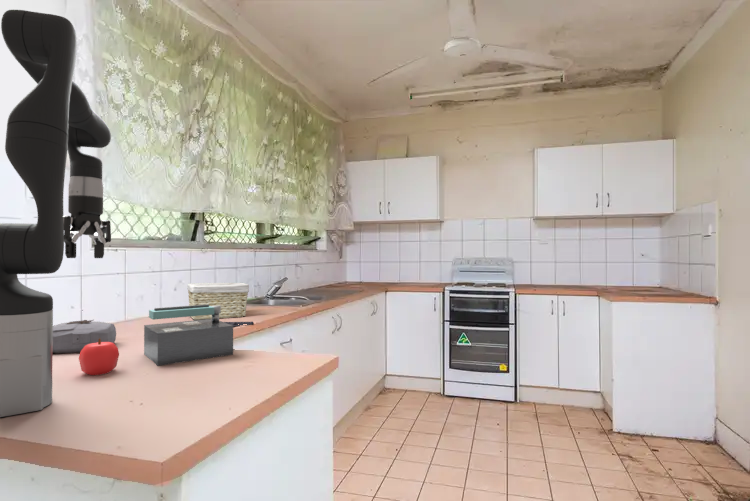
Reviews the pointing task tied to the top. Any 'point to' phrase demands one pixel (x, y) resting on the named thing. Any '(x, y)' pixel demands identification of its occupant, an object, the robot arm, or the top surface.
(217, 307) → the bar
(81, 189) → the robot arm
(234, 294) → the storage basket
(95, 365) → the apple
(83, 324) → the small grey backpack
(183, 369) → the top surface
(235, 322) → the squeegee
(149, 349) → the box
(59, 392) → the top surface
